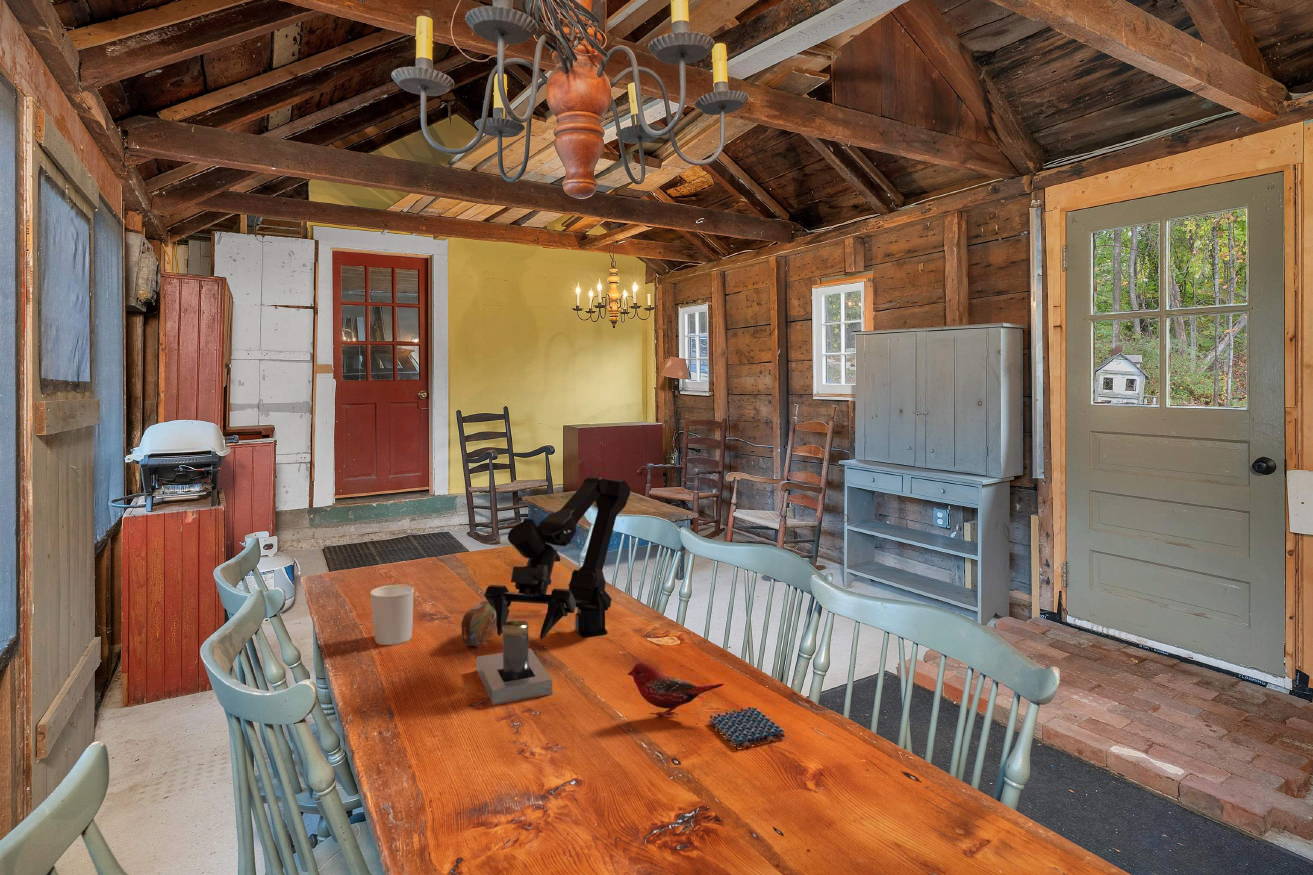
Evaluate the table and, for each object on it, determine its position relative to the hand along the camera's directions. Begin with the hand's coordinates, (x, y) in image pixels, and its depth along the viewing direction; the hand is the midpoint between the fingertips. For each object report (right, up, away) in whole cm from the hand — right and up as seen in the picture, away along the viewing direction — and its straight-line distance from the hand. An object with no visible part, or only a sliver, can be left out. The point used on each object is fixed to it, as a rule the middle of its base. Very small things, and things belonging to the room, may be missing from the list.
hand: (519, 636), depth 139 cm
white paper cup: (-36, -8, +25) cm, 44 cm away
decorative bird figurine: (+31, -11, -14) cm, 36 cm away
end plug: (0, -10, -2) cm, 10 cm away
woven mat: (+44, -12, -19) cm, 49 cm away
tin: (-15, -8, +25) cm, 30 cm away
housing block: (-2, -10, +1) cm, 10 cm away
